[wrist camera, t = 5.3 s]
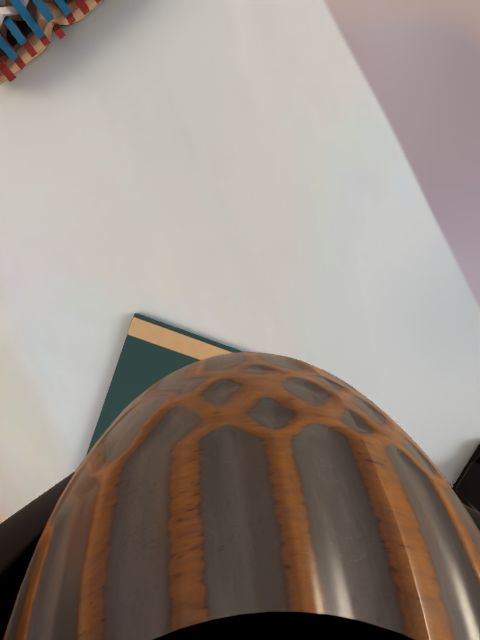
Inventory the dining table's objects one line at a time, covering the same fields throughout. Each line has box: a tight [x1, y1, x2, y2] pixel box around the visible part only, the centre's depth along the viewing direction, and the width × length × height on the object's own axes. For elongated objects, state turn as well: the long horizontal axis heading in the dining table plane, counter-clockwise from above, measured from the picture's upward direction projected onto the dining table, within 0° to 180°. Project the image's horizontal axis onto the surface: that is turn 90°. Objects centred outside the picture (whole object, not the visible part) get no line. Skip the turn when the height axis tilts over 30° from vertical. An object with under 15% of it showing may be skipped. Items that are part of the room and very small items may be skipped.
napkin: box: [86, 313, 242, 456], centre depth 20 cm, size 12×20×1 cm, turn 158°
